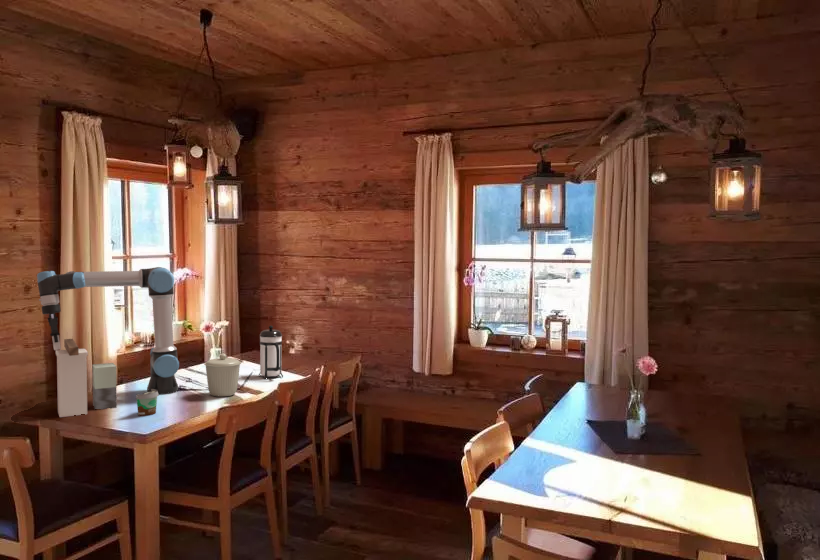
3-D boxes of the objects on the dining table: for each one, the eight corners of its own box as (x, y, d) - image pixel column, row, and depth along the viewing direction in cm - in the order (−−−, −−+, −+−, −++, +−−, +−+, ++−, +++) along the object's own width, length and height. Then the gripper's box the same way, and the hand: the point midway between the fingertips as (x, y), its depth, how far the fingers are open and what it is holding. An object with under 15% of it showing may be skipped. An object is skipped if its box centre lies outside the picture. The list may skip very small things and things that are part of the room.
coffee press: (251, 378, 379) (251, 326, 377) (266, 373, 394) (266, 323, 392) (278, 381, 374) (278, 328, 372) (292, 375, 389) (292, 324, 387)
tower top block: (113, 383, 318) (113, 362, 317) (116, 387, 309) (116, 366, 309) (92, 384, 313) (92, 364, 313) (95, 389, 305) (94, 368, 304)
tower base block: (113, 403, 318) (113, 383, 318) (116, 407, 310) (116, 387, 309) (92, 405, 314) (92, 384, 313) (95, 410, 305) (95, 389, 305)
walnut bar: (72, 346, 312) (72, 338, 312) (78, 355, 289) (78, 347, 288) (64, 346, 311) (64, 339, 310) (69, 355, 287) (69, 347, 287)
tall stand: (85, 408, 308) (85, 348, 306) (88, 414, 297) (87, 352, 296) (56, 411, 301) (55, 350, 300) (58, 417, 291) (57, 354, 290)
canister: (240, 398, 332) (240, 356, 331) (202, 399, 328) (202, 357, 327) (241, 390, 350) (241, 350, 349) (205, 391, 346) (205, 351, 345)
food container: (148, 417, 293) (148, 395, 293) (136, 416, 294) (135, 394, 294) (164, 411, 305) (164, 389, 305) (152, 410, 306) (152, 388, 306)
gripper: (41, 307, 316) (48, 350, 316) (41, 304, 294) (48, 351, 293) (59, 305, 320) (65, 348, 319) (60, 302, 297) (67, 348, 297)
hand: (57, 350), depth 306 cm, fingers open, 14 cm apart
